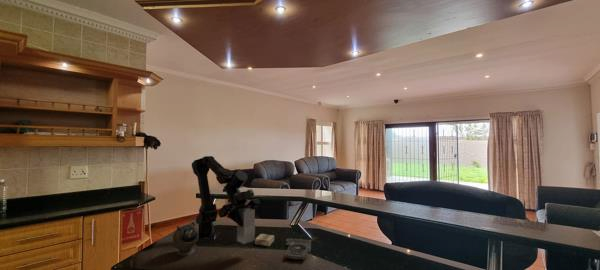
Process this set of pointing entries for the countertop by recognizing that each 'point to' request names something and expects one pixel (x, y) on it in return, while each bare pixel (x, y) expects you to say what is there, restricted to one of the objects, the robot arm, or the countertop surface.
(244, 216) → the housing
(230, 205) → the robot arm
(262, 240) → the stand
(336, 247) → the countertop surface
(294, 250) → the graphics card
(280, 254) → the countertop surface
